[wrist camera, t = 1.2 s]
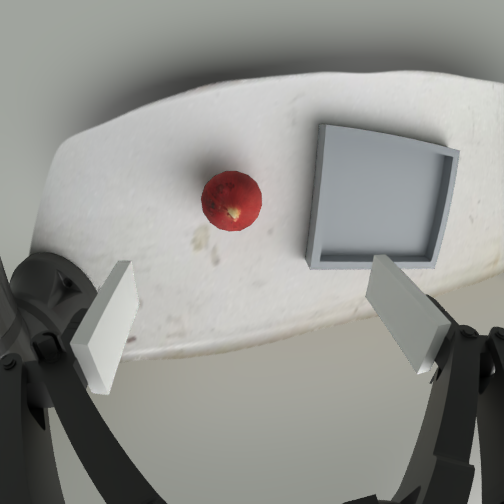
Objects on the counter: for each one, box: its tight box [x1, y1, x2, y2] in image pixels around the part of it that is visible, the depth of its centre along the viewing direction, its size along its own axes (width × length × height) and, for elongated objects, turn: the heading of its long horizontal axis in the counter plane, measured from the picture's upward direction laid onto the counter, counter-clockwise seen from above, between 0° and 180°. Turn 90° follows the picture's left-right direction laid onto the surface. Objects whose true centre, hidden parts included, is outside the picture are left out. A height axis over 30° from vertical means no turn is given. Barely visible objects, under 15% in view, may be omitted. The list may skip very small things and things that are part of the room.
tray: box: [305, 124, 460, 270], centre depth 33 cm, size 18×16×2 cm
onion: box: [201, 171, 262, 231], centre depth 29 cm, size 6×6×8 cm
